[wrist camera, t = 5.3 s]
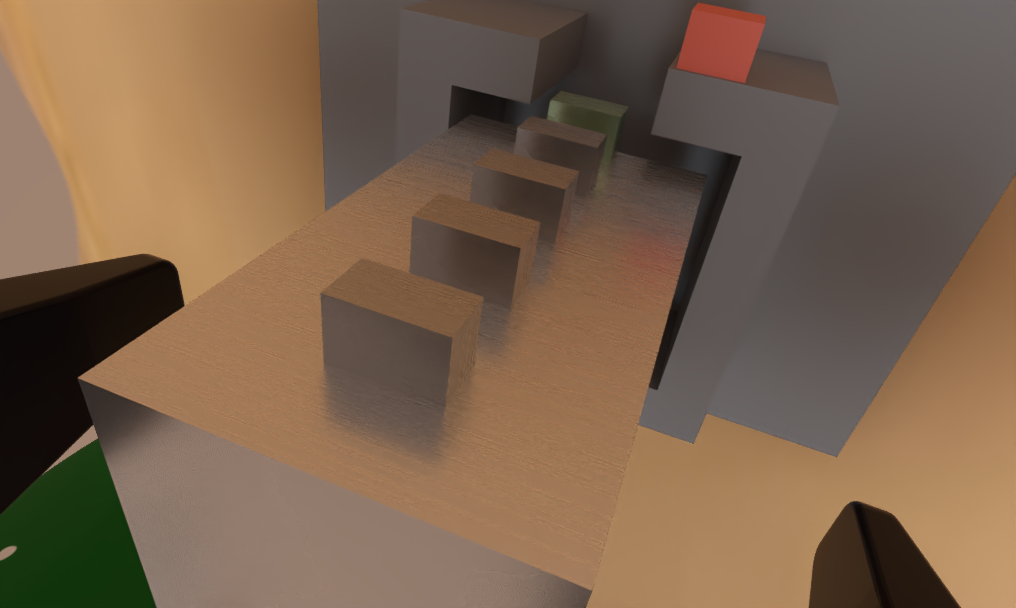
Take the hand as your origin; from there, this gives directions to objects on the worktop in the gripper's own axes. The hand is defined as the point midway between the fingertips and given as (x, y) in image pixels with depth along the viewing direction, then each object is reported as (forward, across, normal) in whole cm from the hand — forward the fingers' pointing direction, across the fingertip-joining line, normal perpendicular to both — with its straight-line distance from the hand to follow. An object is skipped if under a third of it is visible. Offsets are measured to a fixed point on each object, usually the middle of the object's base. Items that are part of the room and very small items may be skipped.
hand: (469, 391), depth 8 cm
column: (+4, 0, 0) cm, 4 cm away
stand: (+8, 0, 0) cm, 8 cm away
